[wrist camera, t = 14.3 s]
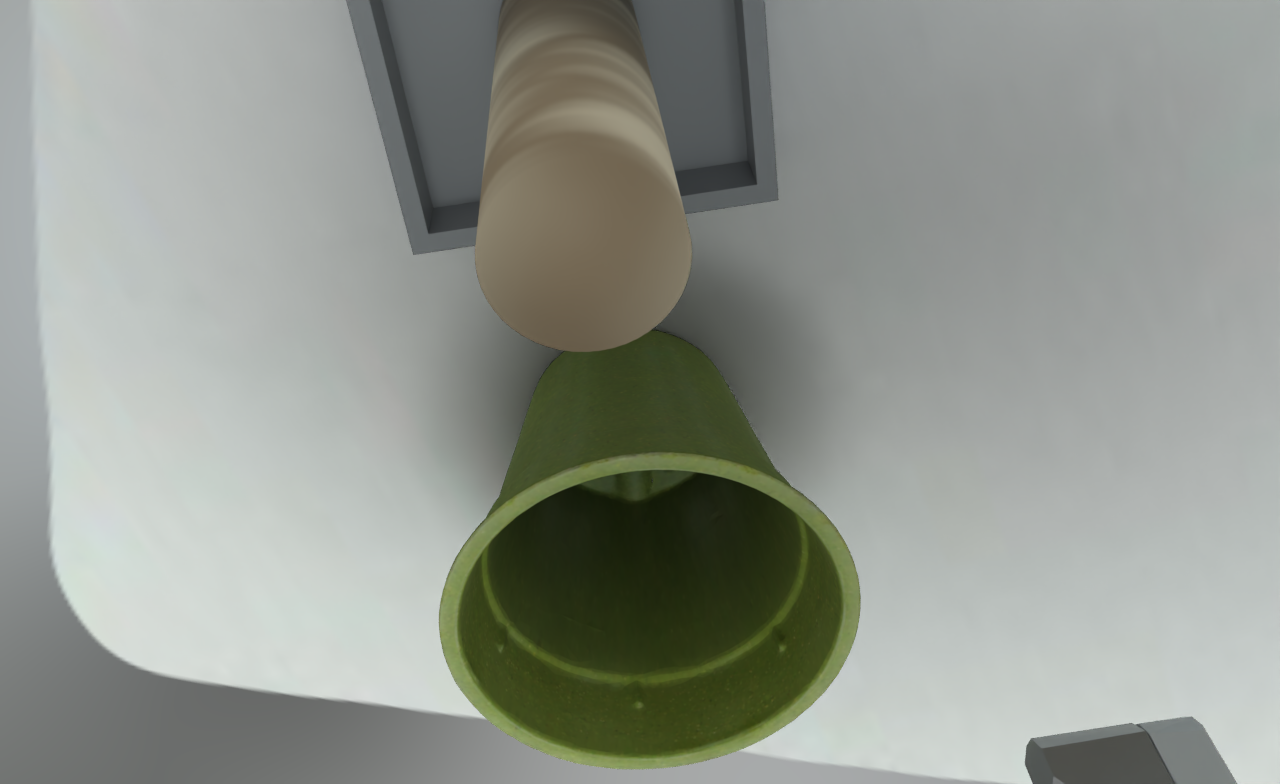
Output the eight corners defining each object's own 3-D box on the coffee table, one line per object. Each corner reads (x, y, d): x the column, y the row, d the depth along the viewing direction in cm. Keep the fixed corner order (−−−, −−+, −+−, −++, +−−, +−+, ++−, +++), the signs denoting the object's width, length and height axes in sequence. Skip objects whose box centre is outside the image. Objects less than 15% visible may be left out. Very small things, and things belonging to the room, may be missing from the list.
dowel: (626, -54, 33) (679, 140, 21) (644, 84, 35) (702, 335, 23) (486, -33, 33) (453, 174, 21) (512, 104, 35) (498, 365, 23)
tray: (735, -221, 32) (749, -210, 29) (765, 168, 38) (778, 200, 36) (324, -157, 32) (308, -141, 30) (420, 220, 38) (413, 254, 36)
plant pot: (833, 293, 40) (922, 494, 31) (739, 553, 47) (789, 788, 37) (491, 230, 38) (474, 426, 29) (440, 512, 44) (412, 750, 35)
